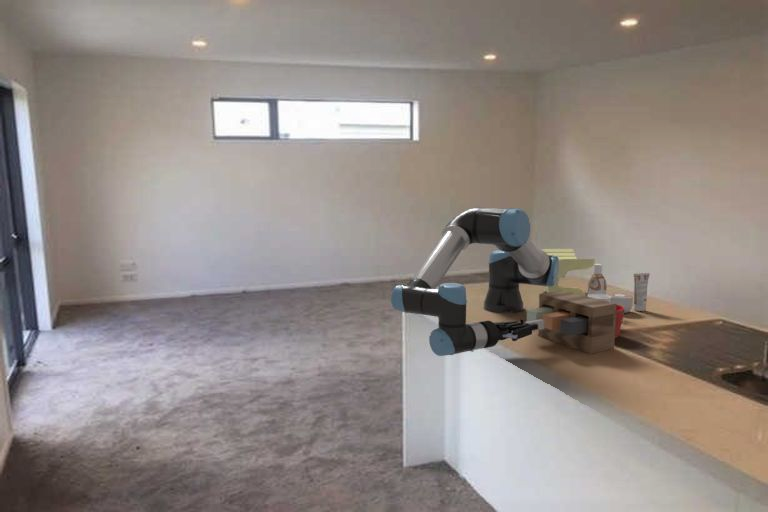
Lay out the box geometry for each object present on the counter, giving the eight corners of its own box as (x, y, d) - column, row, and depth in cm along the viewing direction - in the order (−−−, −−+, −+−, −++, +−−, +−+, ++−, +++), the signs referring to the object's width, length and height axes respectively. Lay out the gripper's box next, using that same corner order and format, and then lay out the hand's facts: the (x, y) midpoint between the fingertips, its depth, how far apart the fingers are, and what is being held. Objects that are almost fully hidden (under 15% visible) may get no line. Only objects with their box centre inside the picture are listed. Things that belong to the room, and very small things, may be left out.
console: (538, 335, 193) (539, 293, 191) (560, 331, 198) (561, 290, 196) (590, 353, 174) (593, 307, 172) (614, 348, 179) (616, 303, 177)
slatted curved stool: (536, 287, 269) (537, 248, 266) (571, 287, 269) (572, 248, 266) (553, 302, 240) (554, 259, 237) (592, 302, 239) (594, 259, 236)
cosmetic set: (639, 307, 230) (642, 260, 227) (655, 313, 221) (658, 263, 218) (581, 311, 225) (583, 262, 222) (594, 317, 216) (597, 266, 213)
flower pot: (581, 333, 196) (582, 304, 194) (606, 329, 200) (607, 301, 198) (604, 341, 186) (605, 311, 184) (630, 337, 190) (632, 308, 189)
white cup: (611, 327, 202) (613, 299, 201) (587, 326, 204) (588, 298, 202) (607, 321, 210) (609, 294, 208) (584, 320, 211) (585, 293, 210)
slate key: (560, 332, 175) (560, 319, 175) (584, 327, 180) (584, 315, 180) (570, 335, 172) (571, 322, 171) (594, 330, 177) (595, 317, 176)
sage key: (526, 322, 187) (527, 309, 187) (549, 317, 192) (550, 305, 192) (535, 324, 184) (535, 312, 183) (559, 320, 189) (559, 308, 188)
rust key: (542, 327, 181) (542, 314, 181) (566, 322, 186) (566, 310, 185) (551, 330, 178) (552, 317, 177) (575, 325, 183) (576, 313, 182)
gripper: (466, 342, 173) (527, 330, 184) (494, 354, 162) (557, 341, 173) (466, 317, 172) (527, 307, 183) (495, 327, 161) (558, 316, 172)
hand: (542, 323), depth 178 cm, fingers closed
